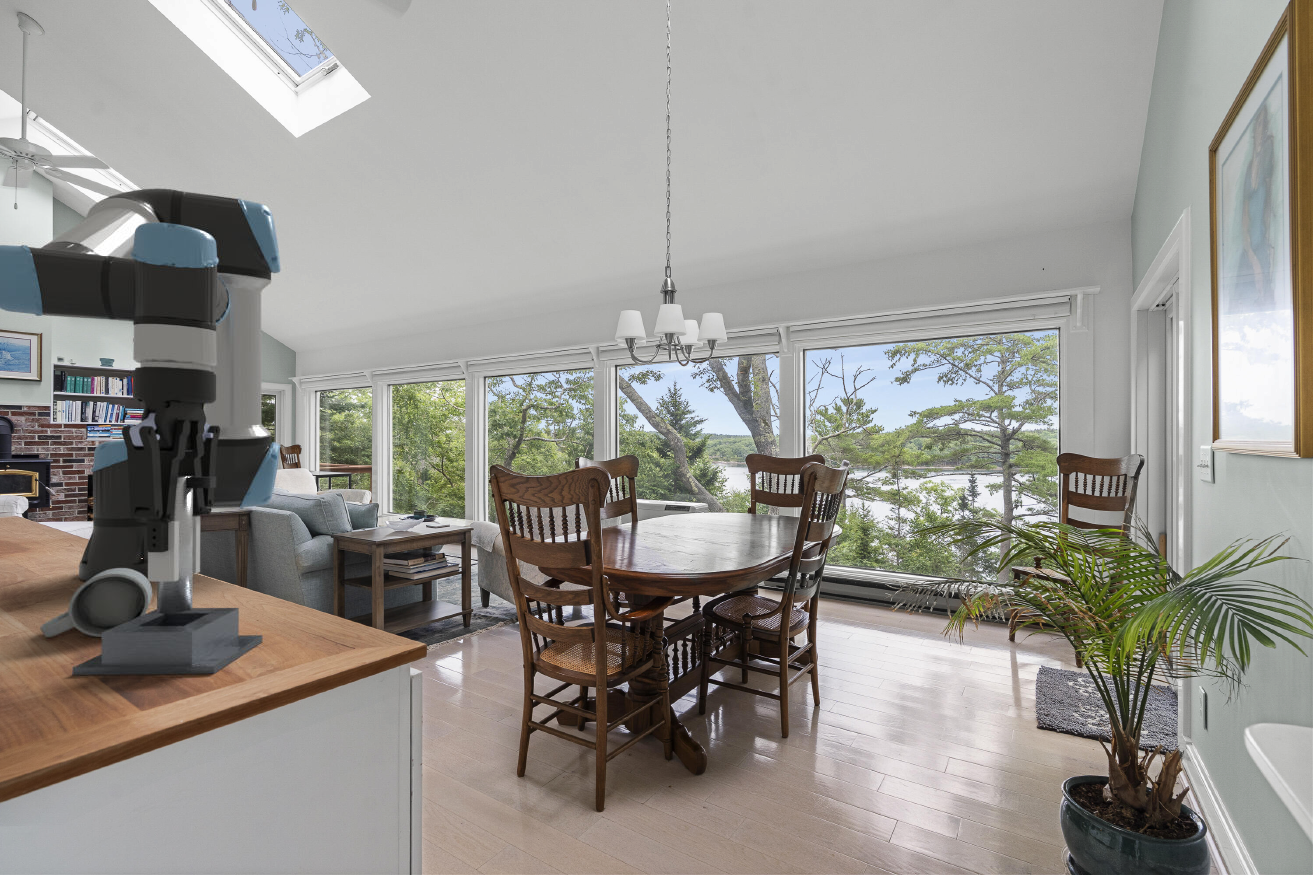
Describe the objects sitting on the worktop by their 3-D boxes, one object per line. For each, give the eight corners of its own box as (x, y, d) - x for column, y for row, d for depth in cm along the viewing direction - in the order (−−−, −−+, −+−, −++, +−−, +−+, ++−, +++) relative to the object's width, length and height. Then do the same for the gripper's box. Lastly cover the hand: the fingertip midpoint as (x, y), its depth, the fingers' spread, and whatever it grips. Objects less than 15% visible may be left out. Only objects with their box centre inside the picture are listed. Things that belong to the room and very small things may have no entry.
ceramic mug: (153, 614, 89) (152, 558, 89) (149, 631, 82) (147, 571, 82) (48, 628, 83) (47, 568, 83) (34, 648, 76) (32, 582, 76)
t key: (126, 613, 71) (127, 477, 71) (146, 605, 75) (147, 475, 74) (203, 613, 72) (204, 478, 72) (220, 605, 75) (221, 476, 75)
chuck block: (139, 642, 78) (139, 606, 78) (262, 641, 79) (262, 606, 79) (72, 675, 68) (72, 634, 68) (214, 673, 69) (214, 633, 69)
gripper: (186, 372, 81) (185, 561, 81) (82, 359, 64) (82, 595, 65) (249, 373, 81) (248, 561, 82) (163, 361, 65) (162, 595, 66)
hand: (174, 575), depth 73 cm, fingers closed on t key, 3 cm apart
